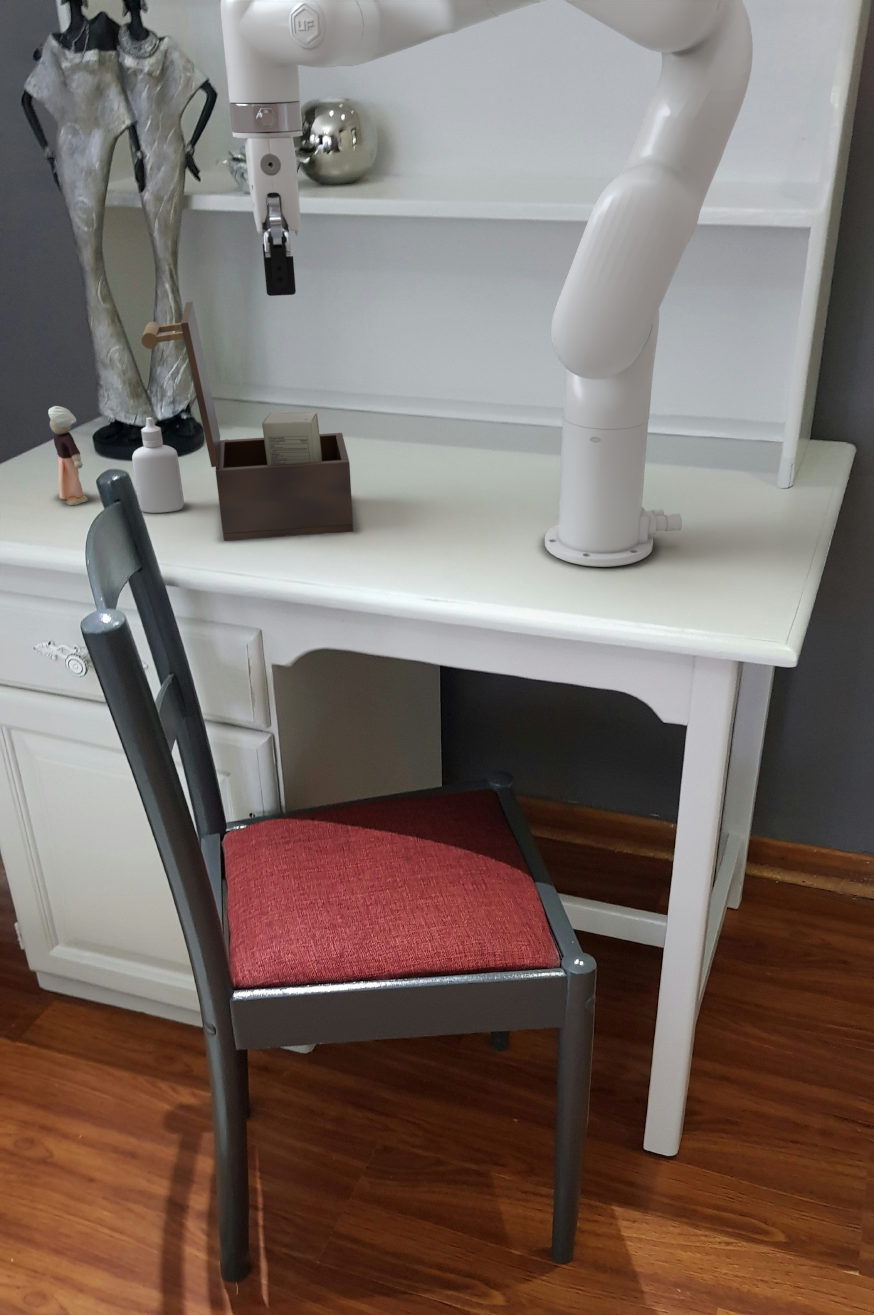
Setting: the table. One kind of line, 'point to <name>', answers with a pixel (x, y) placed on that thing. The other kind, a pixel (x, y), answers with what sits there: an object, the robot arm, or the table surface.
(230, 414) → the table surface
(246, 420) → the table surface
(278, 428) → the cosmetic box
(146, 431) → the eye dropper bottle
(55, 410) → the grandmother figurine
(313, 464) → the chest
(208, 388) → the lid
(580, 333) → the robot arm
